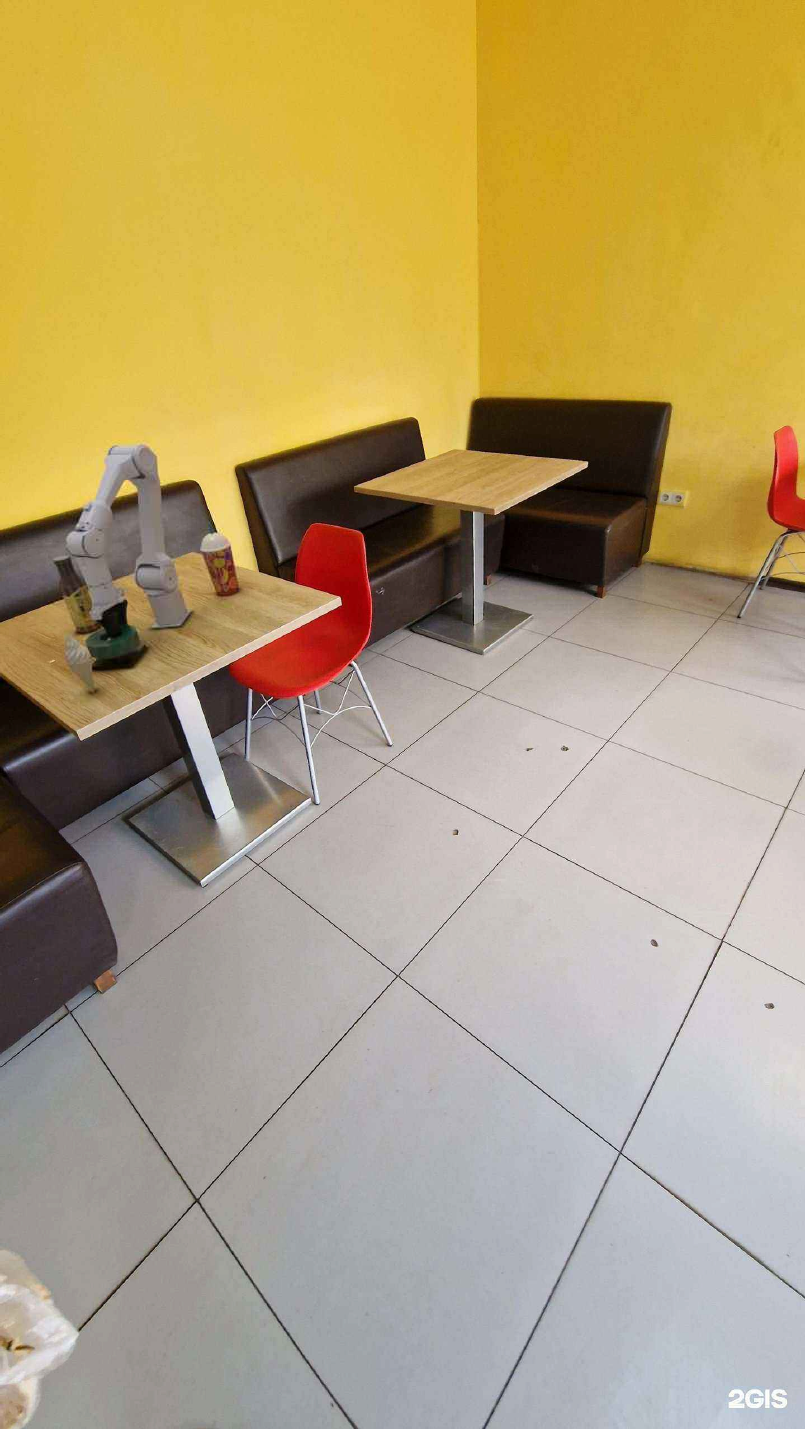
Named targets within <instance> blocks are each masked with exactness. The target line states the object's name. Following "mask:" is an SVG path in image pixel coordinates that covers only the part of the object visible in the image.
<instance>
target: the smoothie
mask: <svg viewBox="0 0 805 1429" xmlns="http://www.w3.org/2000/svg"><path fill="white" fill-rule="evenodd" d="M207 525H208V530H209V533H207V534H206V535H205V536H204V537H203V539H202V540H201V544H200V545H201V546H200V551H201V554H202V557H203V561H204V563H205V566H206V568H207V571H208V575H209V578H210V579H211V583H212V585H213V588H214V591H216V592H217V594H218V595H220V596H229V595H233V594H235V593H236V592H237V591H238V588H239V580H238V576H237V572H236V566H235V561H234V557H233V556H234V555H233V551H232V545H231V544H232V543H231V542H230V541H229V540H228V538H226V536H225V535H223V534H221V533H219V532H214V531H213V527H212V524H211V522H208V523H207Z"/></svg>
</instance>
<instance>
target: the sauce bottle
mask: <svg viewBox="0 0 805 1429" xmlns="http://www.w3.org/2000/svg"><path fill="white" fill-rule="evenodd" d="M52 561H53V563H54V565H55V566H56V569H57V571H58V574H59V576H60V578H59V583H58V584H59V586H58V587H59V589H60V591H61V594H62V597H63V600H64V603H65V605H66V607H67V610H68V612H69V615H70V618H71V621H72V622H73V625H74V627H75V628H76V631H77V632H79V633H89V632H93V631H95V630H97V629H99V628H100V626H101V625H100V624H99V623H98V622H97V621H95V620H92V618H91V616H90V614H89V613H90V612H91V610H92V606H93V599H92V597H91V594H90V592H89V589H88V587H87V584H86V583H85V581H83V580H82V579H81V577H80V576H79V574H78V573H77V572H76V570H75V567H74V564H73V561H72V558H71V555H69V554H67V555H60V556H57V557H55V558H53V560H52Z"/></svg>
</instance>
